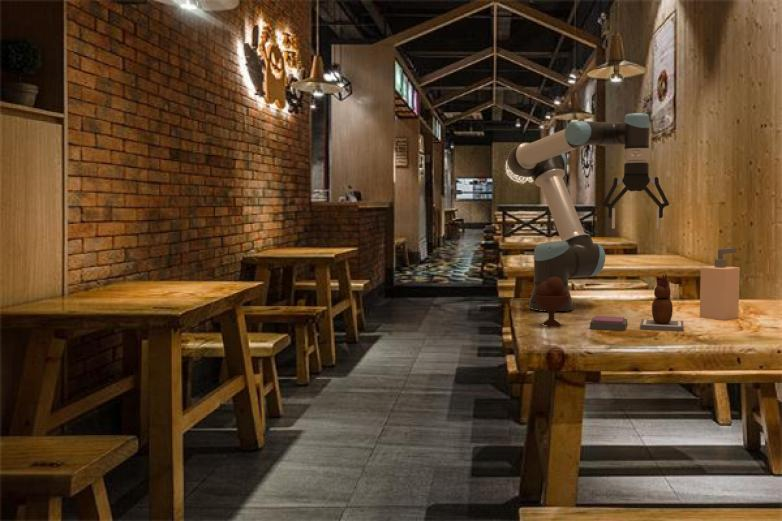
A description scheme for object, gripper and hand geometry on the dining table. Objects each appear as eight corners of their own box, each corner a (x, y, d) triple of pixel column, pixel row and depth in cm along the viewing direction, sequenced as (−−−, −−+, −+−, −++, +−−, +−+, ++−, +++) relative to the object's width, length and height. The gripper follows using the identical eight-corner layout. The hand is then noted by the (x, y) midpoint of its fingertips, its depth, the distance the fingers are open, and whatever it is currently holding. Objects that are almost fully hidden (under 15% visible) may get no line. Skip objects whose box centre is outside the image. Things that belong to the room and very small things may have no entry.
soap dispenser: (724, 320, 240) (726, 250, 238) (699, 317, 247) (700, 249, 245) (745, 316, 248) (747, 248, 246) (720, 313, 255) (721, 247, 253)
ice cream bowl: (570, 322, 238) (571, 274, 237) (566, 328, 228) (567, 278, 227) (536, 321, 242) (536, 274, 241) (531, 327, 231) (531, 277, 230)
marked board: (640, 329, 226) (640, 324, 226) (641, 322, 237) (641, 318, 237) (683, 331, 222) (683, 326, 222) (683, 324, 233) (683, 320, 233)
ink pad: (590, 329, 227) (590, 320, 227) (593, 323, 236) (593, 315, 236) (625, 330, 224) (625, 322, 223) (627, 325, 233) (627, 316, 233)
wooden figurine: (673, 325, 225) (674, 274, 224) (653, 324, 227) (654, 274, 225) (670, 321, 232) (671, 272, 231) (650, 320, 233) (651, 272, 232)
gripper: (595, 162, 246) (594, 228, 248) (677, 160, 237) (676, 229, 239) (597, 163, 253) (596, 227, 255) (677, 161, 244) (676, 228, 246)
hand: (635, 228), depth 247 cm, fingers open, 13 cm apart
